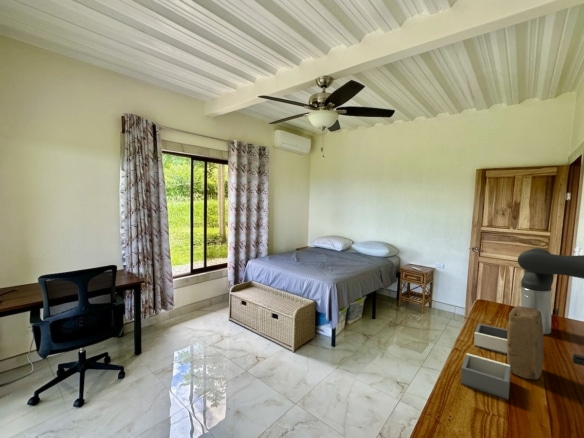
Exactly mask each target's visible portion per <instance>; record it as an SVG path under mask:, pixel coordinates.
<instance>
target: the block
mask: <svg viewBox="0 0 584 438" xmlns="http://www.w3.org/2000/svg"><path fill="white" fill-rule="evenodd" d="M507 330H508V332H507V354H506V355H507V356H506V360H507V361H506V362H507V364H508V365H510V373H512V374H514V375H516V376H518V377H520V378H523V379H526V380H538V379H540V377H541V375H542V373H543V372H542V371H543V370H542V369H543V365H544V345H545V344H544V343H545V342H544V340H545V339H544V338H545V337H544V334H543V324H542V316H541V312H540V311H539V310H537V309H533V308H529V307H522V306H521V305H518V306H516V307H513V308H512V309H511V310H510V311H509V314H508V322H507Z"/></svg>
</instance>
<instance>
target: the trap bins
mask: <svg viewBox="0 0 584 438" xmlns="http://www.w3.org/2000/svg"><path fill="white" fill-rule="evenodd" d="M507 332H508V328H501V327H497V326H493V325H487V324H484V323H483V324H482V323H477V325H476V328H475V331H474V336H473V337H474V338H473V339H474V342H473V343H474V347H476V346H477V348H480V347H481V349H485V350H488V351H492V352H496V353H499V354H504V355H507ZM460 367H461V369H460V374H461V375H460V376H461V377H460V378H461V379H460V380H461V385H463V386H466V387H468V388H471V389H474V390H476V391H477V390H478V391H479V392H483V393H486V394H489V395H492V396H495V397H497V398H501V399H502V400H507V401H509V400H510V399H509V398H510V388H511V371H510V365H508V363H504V362H500V361H497V360H493V359H490V358H487V357H482V356H479V355H475V354H471V353H468V352H466V354H465V357H464V360H463V362H462V365H461V366H460Z"/></svg>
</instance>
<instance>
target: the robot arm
mask: <svg viewBox="0 0 584 438" xmlns="http://www.w3.org/2000/svg"><path fill="white" fill-rule="evenodd" d="M517 263H518V265H519V267H520V268H521V269H523V270H524V274H523V277H522V278H521V282H520V283H521V285H520V289H521V290H520V292H521V293H520V294H521V295H520V298H521V299H520V306H522V307H529V308H533V309H537V310H539V311H540V312H541V316H542V324H543V335H549V334H551V333H552V286H553V284H554V276H555V275H559V276H567V277H573V278H579V279H581V280H582V279H583V280H584V255H583V254H582V255H581V254H580V255H564V254H563V255H561V254H553V253H551V252H550V251H548V250H547V249H545V248H540V247H535V248H531V249H528V250H527V249H526V250H525V251H523V252H522V253H520V254H519V255H518V257H517ZM571 357H572V358H571V359H572V363H573V364H575V365H579V366H583V367H584V355H581V354H576V353H573V354H572V356H571Z"/></svg>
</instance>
